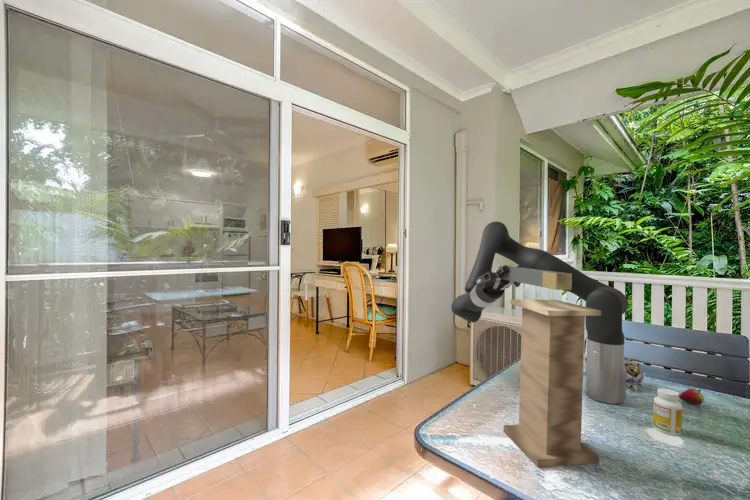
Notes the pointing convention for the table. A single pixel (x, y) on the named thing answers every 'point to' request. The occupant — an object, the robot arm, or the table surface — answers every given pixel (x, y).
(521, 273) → the steel block
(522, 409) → the walnut stand
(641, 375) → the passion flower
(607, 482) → the table surface
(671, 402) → the supplement bottle
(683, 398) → the fruit
